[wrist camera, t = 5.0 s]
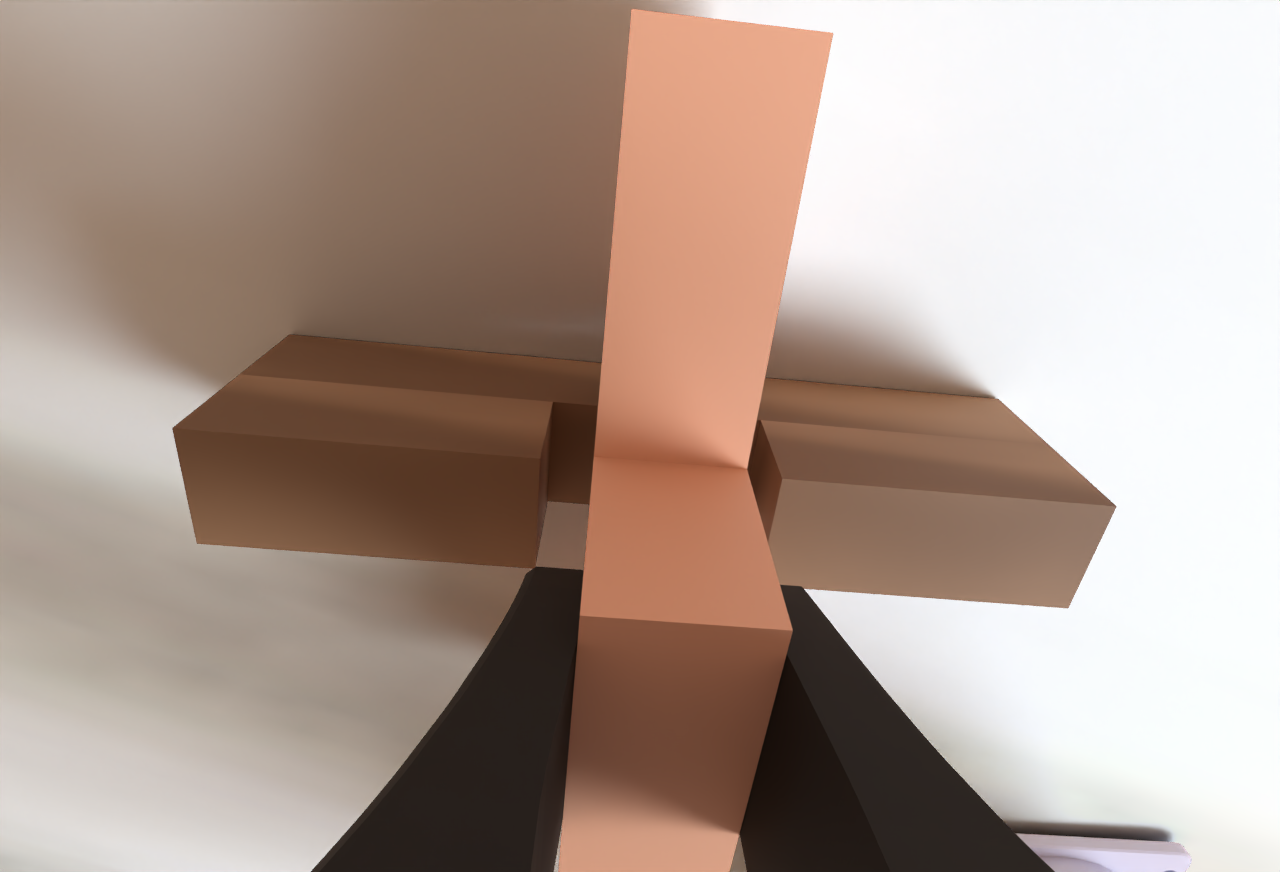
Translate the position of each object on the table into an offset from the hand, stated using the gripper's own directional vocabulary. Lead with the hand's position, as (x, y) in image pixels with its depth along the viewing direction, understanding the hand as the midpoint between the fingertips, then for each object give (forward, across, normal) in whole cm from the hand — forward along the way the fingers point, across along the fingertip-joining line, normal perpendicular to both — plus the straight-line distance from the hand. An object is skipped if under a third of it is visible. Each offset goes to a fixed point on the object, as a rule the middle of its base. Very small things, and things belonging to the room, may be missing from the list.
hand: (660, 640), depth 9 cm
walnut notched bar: (+6, 0, 0) cm, 6 cm away
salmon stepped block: (+5, 0, 0) cm, 5 cm away
